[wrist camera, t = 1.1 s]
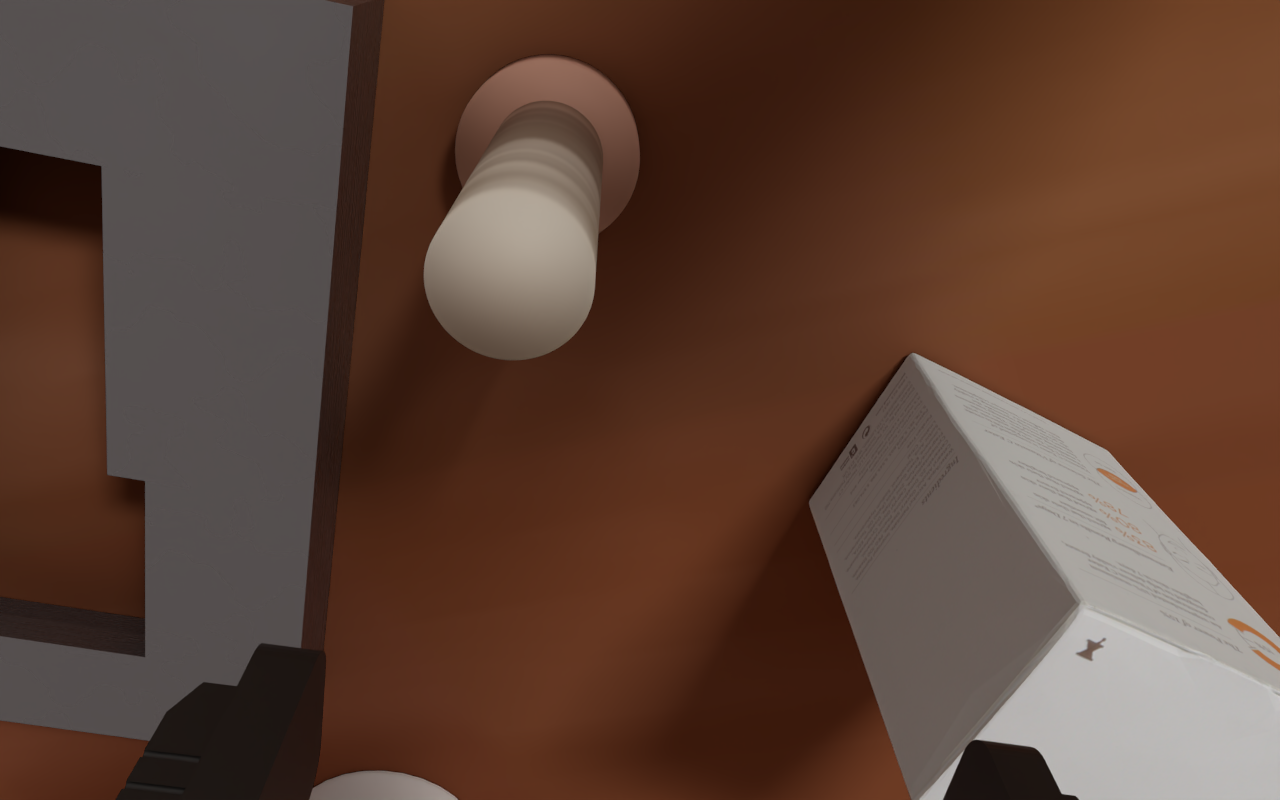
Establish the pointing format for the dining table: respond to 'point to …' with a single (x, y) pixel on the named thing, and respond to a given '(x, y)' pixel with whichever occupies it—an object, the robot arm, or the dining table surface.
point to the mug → (379, 787)
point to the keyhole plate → (203, 324)
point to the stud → (531, 206)
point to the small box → (1040, 605)
